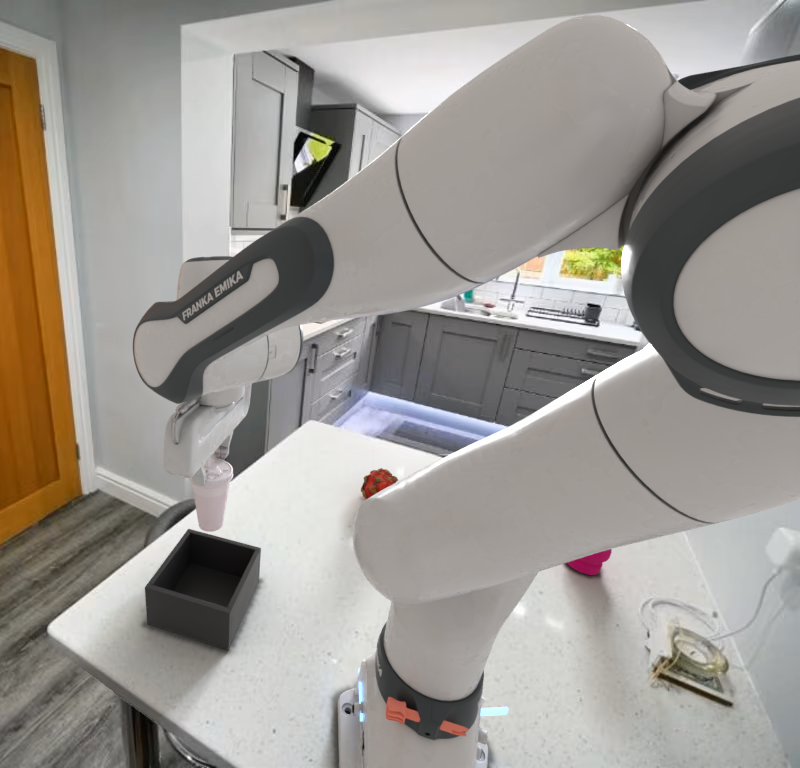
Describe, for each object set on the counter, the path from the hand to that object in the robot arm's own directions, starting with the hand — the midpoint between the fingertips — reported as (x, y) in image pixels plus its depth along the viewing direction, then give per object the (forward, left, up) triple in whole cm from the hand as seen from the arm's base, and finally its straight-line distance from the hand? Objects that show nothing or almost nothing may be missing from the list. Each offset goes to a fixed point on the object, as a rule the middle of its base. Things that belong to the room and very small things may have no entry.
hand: (211, 468), depth 63 cm
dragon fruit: (+36, -25, -26) cm, 51 cm away
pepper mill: (+32, -65, -15) cm, 74 cm away
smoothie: (0, 0, -10) cm, 10 cm away
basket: (-1, 0, -25) cm, 25 cm away
